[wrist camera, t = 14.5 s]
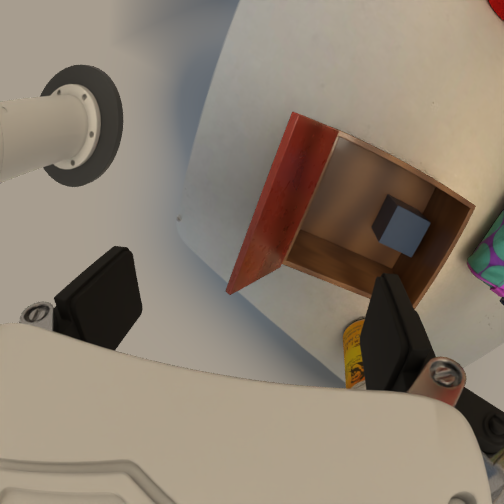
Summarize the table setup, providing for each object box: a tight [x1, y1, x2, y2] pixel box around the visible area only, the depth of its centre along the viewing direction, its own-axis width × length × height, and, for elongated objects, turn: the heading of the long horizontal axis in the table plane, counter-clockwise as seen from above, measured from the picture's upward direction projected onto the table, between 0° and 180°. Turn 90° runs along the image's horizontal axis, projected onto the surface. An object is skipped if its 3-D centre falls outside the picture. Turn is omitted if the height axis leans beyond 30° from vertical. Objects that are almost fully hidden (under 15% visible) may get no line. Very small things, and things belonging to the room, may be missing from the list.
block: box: [371, 194, 431, 258], centre depth 31 cm, size 4×4×4 cm
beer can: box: [343, 319, 366, 390], centre depth 34 cm, size 6×6×15 cm
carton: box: [282, 126, 476, 309], centre depth 29 cm, size 15×13×10 cm
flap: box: [226, 112, 339, 295], centre depth 21 cm, size 7×13×1 cm
